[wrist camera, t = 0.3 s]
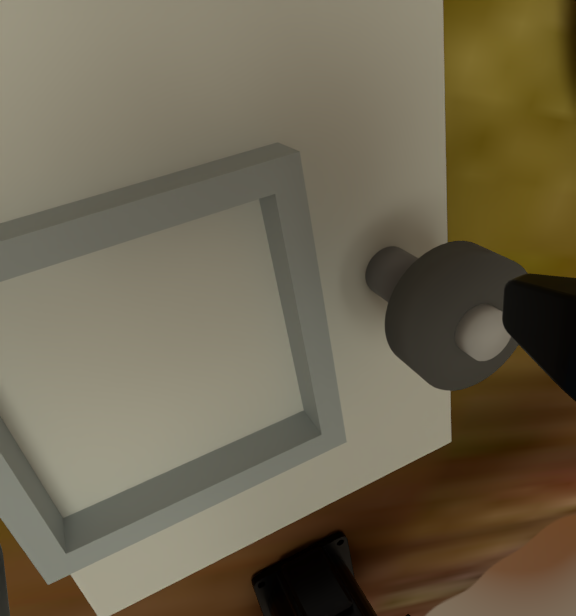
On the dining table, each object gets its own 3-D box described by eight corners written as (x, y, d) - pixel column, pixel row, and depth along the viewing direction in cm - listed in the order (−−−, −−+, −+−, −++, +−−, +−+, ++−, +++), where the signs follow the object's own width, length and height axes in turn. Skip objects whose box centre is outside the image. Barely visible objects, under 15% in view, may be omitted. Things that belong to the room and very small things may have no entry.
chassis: (439, 430, 34) (473, 462, 31) (94, 601, 28) (101, 659, 25) (420, -84, 20) (479, -102, 17) (-271, 41, 14) (-338, 42, 12)
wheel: (494, 336, 24) (544, 368, 22) (390, 384, 22) (431, 423, 20) (498, 222, 21) (556, 244, 19) (378, 268, 20) (425, 299, 17)
